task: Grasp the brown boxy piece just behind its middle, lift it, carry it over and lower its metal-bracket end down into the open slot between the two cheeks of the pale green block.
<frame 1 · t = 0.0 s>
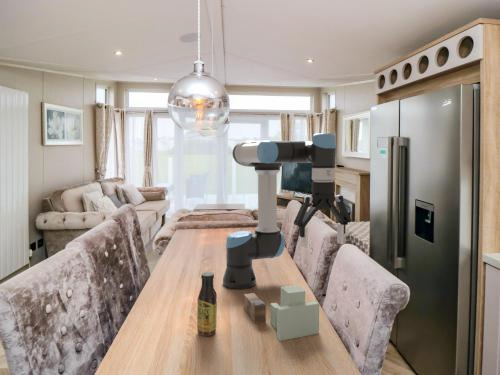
hand: (322, 245, 117), 28 cm above the table, fingers open, 13 cm apart
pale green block: (292, 329, 117), on the table
brown boxy piece: (254, 315, 129), on the table
sauce bottle: (207, 333, 116), on the table
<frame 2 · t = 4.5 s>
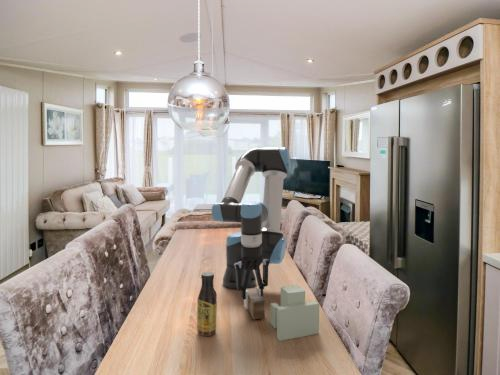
hand: (252, 305, 132), 2 cm above the table, fingers open, 4 cm apart
brown boxy piece: (254, 310, 129), point 1 cm above the table, touching gripper
everything else where it was.
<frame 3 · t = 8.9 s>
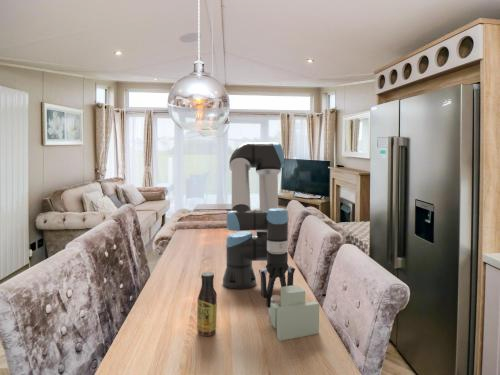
hand: (276, 314, 129), 0 cm above the table, fingers open, 4 cm apart
brown boxy piece: (279, 317, 127), on the table
everything else where it was.
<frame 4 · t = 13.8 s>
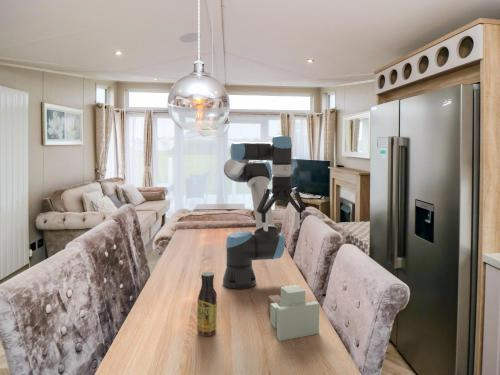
hand: (281, 229, 140), 29 cm above the table, fingers open, 13 cm apart
nothing on the table moved.
at the end: brown boxy piece 0.4 cm from the target spot on the table beside the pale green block, on the table; brown boxy piece tilted 0°; the gripper is holding nothing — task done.
